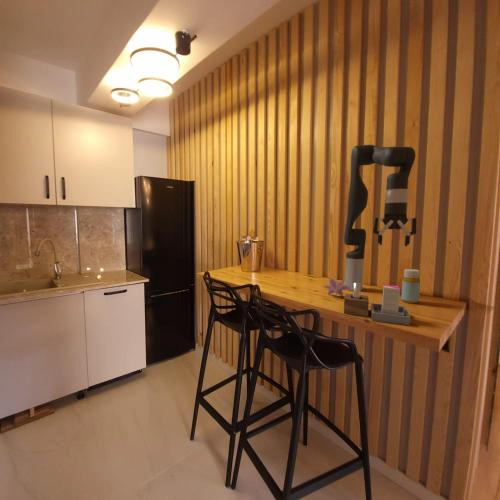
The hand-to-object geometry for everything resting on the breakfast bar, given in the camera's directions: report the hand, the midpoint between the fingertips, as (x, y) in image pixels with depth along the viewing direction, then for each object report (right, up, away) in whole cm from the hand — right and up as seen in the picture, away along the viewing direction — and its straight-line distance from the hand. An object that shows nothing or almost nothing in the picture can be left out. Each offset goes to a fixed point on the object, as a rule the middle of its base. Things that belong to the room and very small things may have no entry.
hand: (393, 245), depth 104 cm
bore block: (-11, -27, +9) cm, 31 cm away
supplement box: (0, -27, +3) cm, 28 cm away
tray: (0, -28, +3) cm, 28 cm away
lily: (-12, -25, +31) cm, 42 cm away
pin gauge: (-11, -27, +9) cm, 31 cm away
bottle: (+20, -26, +24) cm, 41 cm away
